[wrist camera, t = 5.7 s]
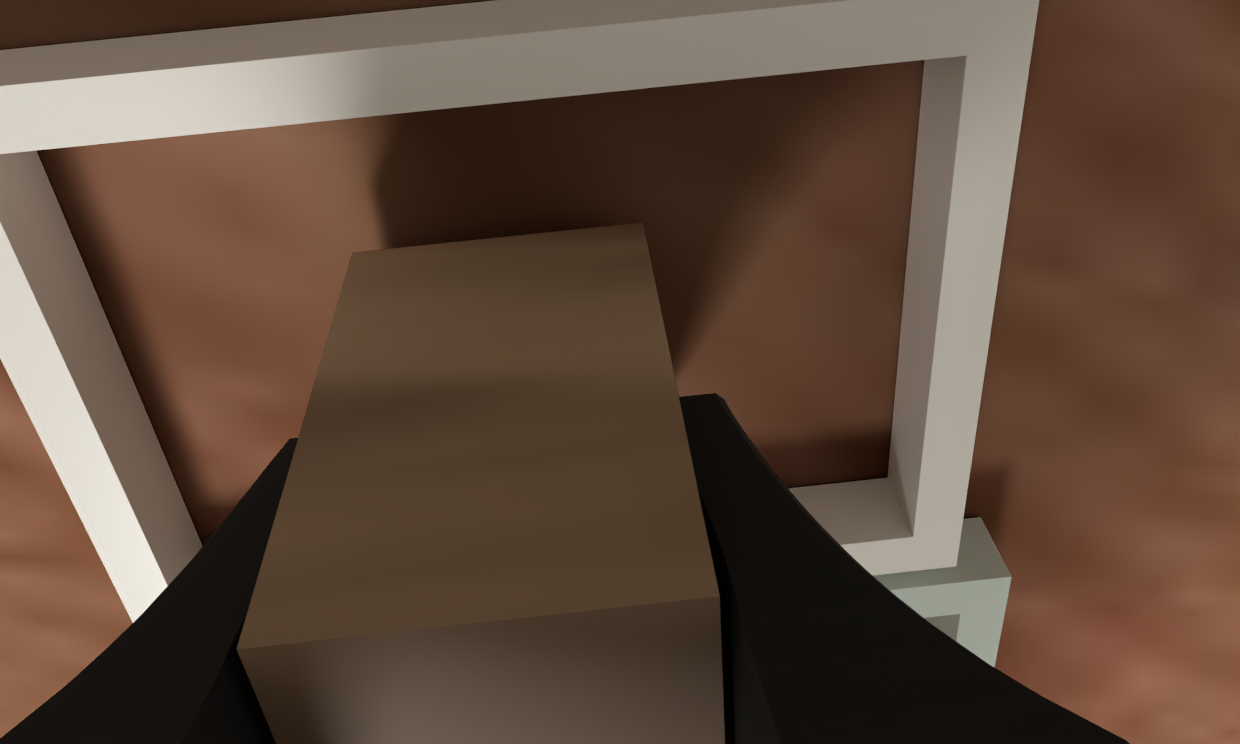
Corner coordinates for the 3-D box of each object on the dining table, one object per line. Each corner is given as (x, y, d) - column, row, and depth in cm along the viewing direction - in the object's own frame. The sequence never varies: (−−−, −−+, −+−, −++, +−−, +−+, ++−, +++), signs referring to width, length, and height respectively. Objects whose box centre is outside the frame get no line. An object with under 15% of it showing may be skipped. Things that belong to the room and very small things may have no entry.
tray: (928, 506, 19) (956, 565, 18) (173, 589, 19) (148, 655, 18) (995, -51, 14) (1041, -19, 12) (-69, 56, 13) (-130, 99, 12)
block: (659, 449, 17) (729, 865, 11) (408, 476, 17) (345, 909, 11) (642, 222, 15) (720, 596, 9) (352, 252, 14) (236, 649, 9)
